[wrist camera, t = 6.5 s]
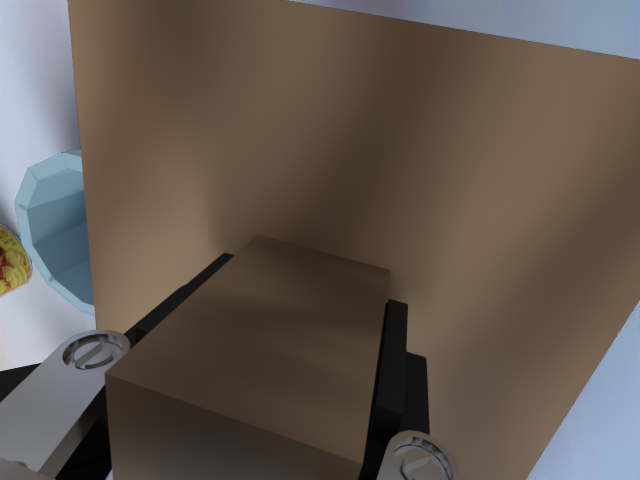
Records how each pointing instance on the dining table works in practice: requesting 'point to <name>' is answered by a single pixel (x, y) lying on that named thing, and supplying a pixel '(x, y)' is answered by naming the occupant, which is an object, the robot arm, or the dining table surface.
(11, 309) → the dining table surface
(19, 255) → the canned food
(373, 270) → the lid
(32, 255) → the bowl
